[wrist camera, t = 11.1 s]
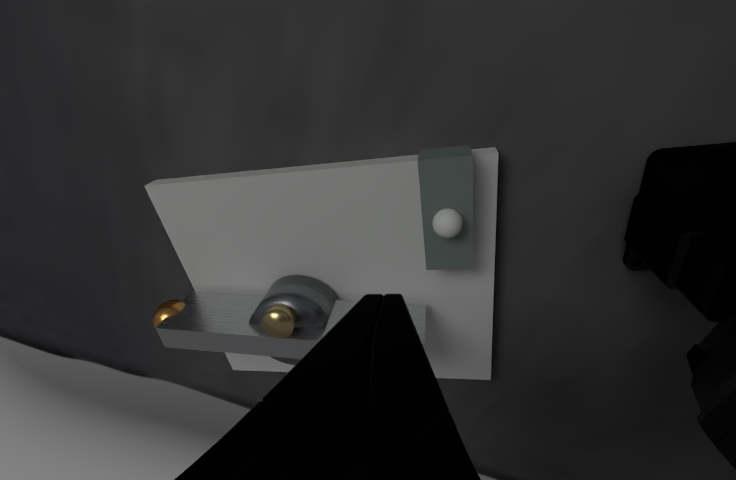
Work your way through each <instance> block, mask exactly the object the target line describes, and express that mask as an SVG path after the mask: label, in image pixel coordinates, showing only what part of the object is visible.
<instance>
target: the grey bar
mask: <svg viewBox="0 0 736 480" xmlns="http://www.w3.org/2000/svg"><path fill="white" fill-rule="evenodd" d="M357 302H358V301H345V300H338V299H337V297H336V296H335V294H334V293H333V292H332V291H331V290H330V289H329V288H328V287H327V286H326V285H325V284H323V283H322V282H320V281H318V280H316V279H314V278H311V277H308V276H303V275H288V276H284V277H281V278H279V279H278V280H276V281H275V282H274V283H273V284H272V285H271V287H270V288H269V290H268V291H267V293H266V294H265V296H256V295H238V294H221V293H203V292H189V294H188V295H187V296H186V297H185V298H184V299H183V300H178V299H174V300H169V301H166V302H164V303H162V304H161V305H160V306H159V307H158V308H157V309H156V311H155V312H154V315H153V325H154V327H155V329H156V330H157V332H158V334H159V336H160V338H161V340H162V342H163V344H164V346H165V347H169V348H181V349H192V350H203V351H215V352H226V353H237V354H248V355H260V356H270V357H271V358H273V359H275V360H277V361H280V362H283V363H286V364H290V365H296V364H297V363H298V362H299V361H300V360H301V359H302V358H303V357H304V356H305V355H306V354H307V353H308V352H309V351H310V350H311V349H312V348H313V347H314V346H315V345H316V344H317V343H318V342H319V341H320V340H321V339H322V338H323V337H324V336H325V335H326V334H327V333H328V332H329V330H330V329H331V328H332V327H333V326H334V325H335V324H336V323H337V322H338V321H339V320H340V319H341V318H342V317H343V316H344V315H345V314H346V313H347V312H348V311H349V310H350V309H351V308H352V307H353V306H354V305H355V304H356V303H357ZM406 305H407V308H408V310H409V313H410V315H411V318H412V320H413V323H414V325H415V328H416V330H417V332H418V335H419V337H420V340H421V342H422V345H423V347H424V350H425V327H426V305H416V304H406Z"/></svg>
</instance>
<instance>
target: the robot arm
mask: <svg viewBox="0 0 736 480" xmlns="http://www.w3.org/2000/svg"><path fill="white" fill-rule="evenodd" d="M665 156H666V159H665V161H664V162H663V163H662V164H658V161H659V159H661V158H662V157H665ZM624 240H625V241H626V243H627V244H626V248H625V252H624V257H623V262H624V264H625V265H626V266H627V267H628V268H629V269H631V270H652V271H653V272H654V273H655V274H656V275H657V277H658V278H659V279H660V280H661V281H662V282H663V283H664V284H665V285H666V286H667V287H668V288H670V289H679V290H680V291H681V292H682V293H683V294H684V296H685V297H686V298H687V299H688V300H689V301H690V302H691V303H692V304H693V305H694V306H695V307H696V308H697V309H698V310H699V311H700V312H701V313H702V315H703V316H704V317H705V318H706V319H707V320H709V321H713V322H719V323H718V324H717V325H716V326H715V327H714V328H713V330H712V331H711V332H710V333H709V334H708V335H707V336H706V337H705V338H704V340H703V341H702V342H701V343H700V344H699V345H696V344H695V345H694V346H693V347H692V348H691V349H690V350H689V351H688V353H687V354H686V355H687V359H688V362H689V365H690V368H691V371H692V374H693V377H692V383H691V386H692V389H693V392H694V394H695V397H696V400H697V402H698V405H699V407H700V409H701V411H702V412H701V413H700V414H699V415H698V417H697V419H698V422H699V424H700V426H701V428H702V429H703V431H704V432H705V433H706V435H707V436H708V437H709V439H710V440H711V441H712V443H713V444H714V445H715V447H716V448H717V449H718V450H719V451H720V452H721V453H722V455H723V456H724V457H725V458H726V459H727V460H728V461H729V463H730V464H731V465H732V466H733V467H734V468H735V469H736V142H732V143H720V144H709V145H697V146H686V147H674V148H663V149H658V150H656V151H654V152H652V153H651V155H650V156H649V157H648V159H647V162H646V166H645V171H644V175H643V179H642V183H641V187H640V191H639V193H638V194H637V195H636V196H635V197H634V200H633V205H632V209H631V213H630V217H629V221H628V226H627V230H626V234H625V238H624ZM637 258H639V259H638V260H637V261H636V262H632V261H633V260H634V259H637ZM175 480H480V477H479V475H478V474H477V472H476V470H475V468H474V466H473V464H472V462H471V460H470V458H469V455H468V453H467V451H466V449H465V446H464V444H463V442H462V440H461V437H460V435H459V433H458V431H457V428H456V426H455V423H454V421H453V418H452V416H451V414H450V412H449V409H448V406H447V404H446V402H445V399H444V397H443V394H442V392H441V389H440V387H439V384H438V382H437V379H436V377H435V374H434V372H433V369H432V367H431V365H430V362H429V360H428V357H427V355H426V352H425V350H424V347H423V345H422V342H421V340H420V337H419V335H418V332H417V330H416V328H415V325H414V323H413V320H412V318H411V315H410V313H409V310H408V308H407V305H406V303H405V300H404V298H403V296H402V294H385V295H384V296H383V295H382V294H366V295H364V296H363V297H362V298H361V299H360V300H359V301H358V302H357V303H356V304H355V305H354V306H353V307H352V308H351V309H350V310H349V311H348V312H347V313H346V314H345V315H344V316H343V317H342V318H341V319H340V320H339V321H338V322H337V323H336V324H335V325H334V326H333V327H332V328H331V329H330V330H329V332H328V333H327V334H326V335H325V336H324V337H323V338H322V339H321V340H320V341H319V342H318V343H317V344H316V345H315V346H314V347H313V348H312V349H311V350H310V351H309V352H308V353H307V354H306V355H305V356H304V357H303V358H302V359H301V360H300V361H299V362H298V363H297V364H296V365H295V366H294V367H293V368H292V369H291V370H290V371H289V372H288V373H287V374H286V375H285V376H284V377H283V378H282V379H281V380H280V381H279V382H278V383H277V384H276V385H275V386H274V387H273V388H272V389H271V390H270V391H269V392H268V393H267V394H266V395H265V396H264V397H263V401H259V402H258V403H257V404H256V405H255V406H254V407H253V408H252V409H251V410H250V411H249V412H248V413H247V414H246V415H245V416H244V417H243V418H242V419H241V420H240V421H239V422H238V423H237V424H236V425H235V426H234V427H233V428H232V429H231V430H230V431H228V433H227V434H225V435H224V436H223V437H222V438H221V439H220V440H219V441H218V442H217V443H216V444H215V445H213V446H212V447H211V448H210V449H209V450H208V451H207V452H206V453H204V454H203V455H202V456H201V457H200V458H199V459H198V460H197V461H195V462H194V463H193V464H192V465H191V466H190V467H189V468H187V469H186V470H185V471H184V472H183V473H182V474H180V475H179V476H178V477H177V478H176V479H175Z"/></svg>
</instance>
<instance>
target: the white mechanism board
mask: <svg viewBox="0 0 736 480" xmlns="http://www.w3.org/2000/svg"><path fill="white" fill-rule="evenodd" d="M497 181H498V151H497V149H496V147H492V148H482V149H472V150H471V147H470V145H469V146H458V147H448V148H438V149H428V150H419V154H418V155H409V156H399V157H389V158H378V159H368V160H358V161H347V162H337V163H326V164H316V165H306V166H295V167H285V168H275V169H264V170H254V171H243V172H233V173H223V174H212V175H202V176H192V177H181V178H171V179H160V180H155V181H153V182H151V183H149V184H147V185H145V188H146V190H147V192H148V195H149V197H150V199H151V201H152V203H153V205H154V207H155V209H156V211H157V213H158V215H159V217H160V219H161V221H162V224H163V226H164V228H165V230H166V232H167V234H168V236H169V238H170V240H171V242H172V244H173V246H174V248H175V250H176V253H177V255H178V257H179V259H180V261H181V263H182V265H183V267H184V269H185V271H186V273H187V275H188V277H189V279H190V282H191V284H192V286H193V288H194V290H195V292H203V293H221V294H238V295H256V296H265V294H266V293H267V291H268V290H269V288H270V287H271V285H272V284H273V283H274V282H275V281H276V280H278V279H279V278H281V277H284V276H288V275H303V276H308V277H311V278H314V279H316V280H318V281H320V282H322V283H323V284H325V285H326V286H327V287H328V288H329V289H330V290H331V291H332V292H333V293H334V294H335V296H336V297H337V299H338V300H345V301H359V300H360V299H361V298H362V297H363V296H364V295H366V294H382V295H383V296H384V295H385V294H402V296H403V298H404V300H405V303H406V304H416V305H426V327H425V352H426V355H427V357H428V360H429V362H430V365H431V367H432V369H433V372H434V374H435V377H436V378H452V379H477V380H491V357H492V328H493V298H494V269H495V240H496V211H497ZM225 354H226V356H227V358H228V360H229V362H230V364H231V366H232V369H233V370H248V371H274V372H289V371H290V370H291V369H292V368H293V367H294V366H295V365H290V364H286V363H283V362H280V361H277V360H275V359H273V358H271V357H270V356H260V355H248V354H237V353H226V352H225Z"/></svg>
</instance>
